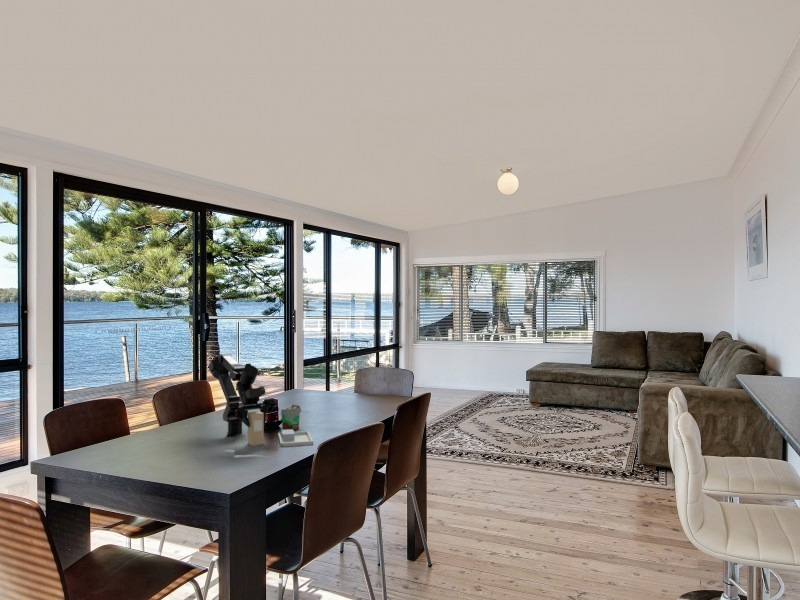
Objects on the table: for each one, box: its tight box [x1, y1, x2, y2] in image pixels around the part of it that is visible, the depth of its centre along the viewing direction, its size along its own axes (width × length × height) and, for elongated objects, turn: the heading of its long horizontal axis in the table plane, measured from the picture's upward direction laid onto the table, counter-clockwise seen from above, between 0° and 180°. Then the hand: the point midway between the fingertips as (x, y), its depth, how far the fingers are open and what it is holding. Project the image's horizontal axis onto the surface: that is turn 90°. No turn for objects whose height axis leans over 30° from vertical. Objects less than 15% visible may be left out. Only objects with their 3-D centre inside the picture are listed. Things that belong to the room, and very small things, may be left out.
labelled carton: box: [247, 410, 265, 447], centre depth 218 cm, size 5×4×12 cm
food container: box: [280, 404, 302, 431], centre depth 243 cm, size 12×6×10 cm, turn 168°
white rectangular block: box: [281, 429, 295, 441], centre depth 226 cm, size 8×4×2 cm, turn 15°
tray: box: [277, 430, 314, 448], centre depth 224 cm, size 18×12×2 cm, turn 15°
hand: (257, 425), depth 217 cm, fingers open, 6 cm apart
